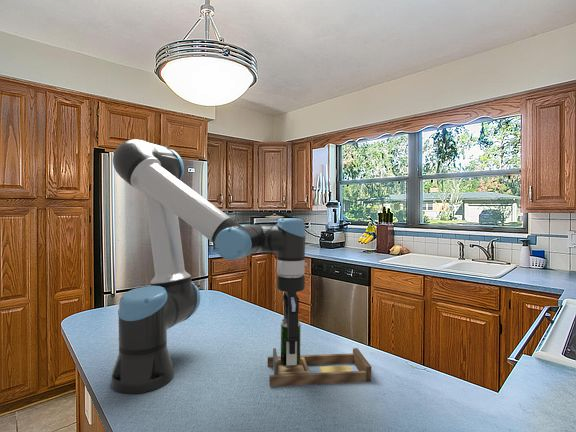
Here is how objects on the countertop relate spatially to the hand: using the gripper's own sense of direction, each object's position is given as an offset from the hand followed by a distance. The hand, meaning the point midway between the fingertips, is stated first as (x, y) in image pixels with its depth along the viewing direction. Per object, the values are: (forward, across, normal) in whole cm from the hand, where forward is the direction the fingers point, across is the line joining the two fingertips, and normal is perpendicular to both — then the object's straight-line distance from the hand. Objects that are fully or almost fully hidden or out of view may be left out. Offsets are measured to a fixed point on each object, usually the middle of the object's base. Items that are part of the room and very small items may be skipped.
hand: (290, 359), depth 94 cm
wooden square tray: (+4, 0, 0) cm, 4 cm away
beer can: (+1, 0, 0) cm, 1 cm away
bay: (+4, 0, -7) cm, 8 cm away
